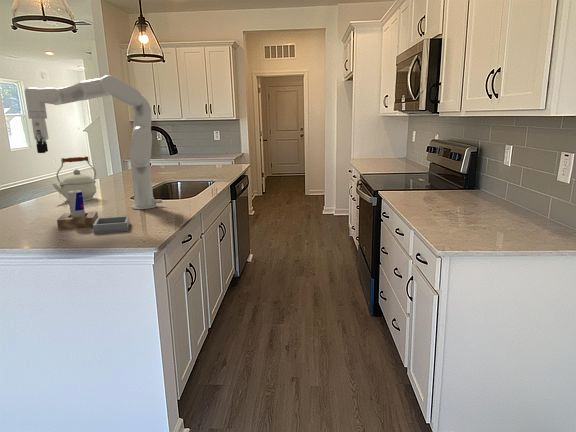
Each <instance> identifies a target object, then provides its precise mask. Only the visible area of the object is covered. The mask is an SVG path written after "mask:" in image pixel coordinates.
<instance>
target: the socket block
mask: <svg viewBox="0 0 576 432" xmlns="http://www.w3.org/2000/svg"><path fill="white" fill-rule="evenodd" d="M97 218H99V215H98V210H93V211H85V217H73V218H71V213H70V212H64V213H62V215H60V217H58V218H57V219H56V223H57V224H56V225H57V230H65V229H66V230H67V229H78V228H80V229H81V227H82V228H93V224H94V223H95V221H96V219H97Z"/></svg>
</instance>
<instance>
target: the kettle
mask: <svg viewBox="0 0 576 432" xmlns="http://www.w3.org/2000/svg"><path fill="white" fill-rule="evenodd" d="M60 161H61V162H60V163H61V166H60V167H59V168H58V170H57V172H56V174H55V177H56V179H57V181H58V182H59V184H57V183H52V184H51V185H52V186H53V188H54V189H55V190H56V192H58V193H59V194H61V195H62V196H63V197H64V198H65V200H66V201H67V202H69V198H68V192H69V191H75V190H80V191H82V195H83V202H88V201H92V200H94V196H95V195H96V193H97V187H96V182H97V181H96V177H97V171H96V169H95V168H94V166H92V165H91V164H90V161H89V156H83V157H81V156H78V157H76V156H75V157H67V158H63V157H62V158H60ZM85 161H86V162H87V164H88V166H90V168H92V170H93V171H94V175H93V178H92V176H90V175H89V174H86V173H81V171H80V170H79V169H74V170H73V171H72V174H69V175H66V176H64V177H63V179H62V181H60V178H59V173H60V171H61V169H62V168H63V167H64V164H65V163H76V162H85Z"/></svg>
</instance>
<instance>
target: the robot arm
mask: <svg viewBox="0 0 576 432" xmlns="http://www.w3.org/2000/svg"><path fill="white" fill-rule="evenodd" d="M108 96H111V97H113V98H115V99H118V100H119V101H121V102H123V103H124V104H126V106H128V107H130V108H132V110H133V126H132V132H131V144H130V154H129V159H130V160H129V161H130V169H131V179H132V181H131V183H132V191H133V201H134V204H132V205H131V209H134V210H149V209H154V208H156V207H157V206H158V205H157V204H163V199H161V198H160V199H159V198H158V199H155V197H154V194H153V193H154V192H153V181H152V168H151V157H152V148H153V145H152V144H153V134H152V117H153V116H152V114H153V113H152V108H151V105H150V103H149V101H148V99H147V98H145V97H144V96H143V95H142V93H141V92H140V91H139V90H138V89H136V88H135V87H133V86H131V85H129V84H128V83H127V82H124V81H123V80H121V79H119V78H117V77H116V76H114V75H109V74H107V75H104V76H103V77H100V78H94V79H87V80H82V81H79V82H77V83H76V84H73V85H70V86H69V85H68V86H65V87H58V88H56V87H45V88H44V87H43V88H39V87H26V88H25V89H24V97H25V103H26V105H25V106H26V110H27V116H28V119H29V120H31V127H32V132H33V138H34V140H35V142H36V151H37V153H38V154H46V152H48V151H49V148H48V142H47V140H49V134H48V128H47V122H46V120H47V119H48V115H47V114H48V113H47V108H46V104H47V105H48V104H49V105H54V106H58V105H64V104H65V105H66V104H70V103H75V102H79V101H81V102H82V101H87V100H92V99H97V98H102V97H108Z"/></svg>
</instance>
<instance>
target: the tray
mask: <svg viewBox="0 0 576 432" xmlns="http://www.w3.org/2000/svg"><path fill="white" fill-rule="evenodd" d="M129 227H130V216H129V215H123V216H111V217H98V218H97V219H96V221H95V223H94V224H93V227H92V229H93V234H104V233H107V234H108V233H118V232H117V231H120V232H128V231H129ZM127 230H128V231H127Z"/></svg>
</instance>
